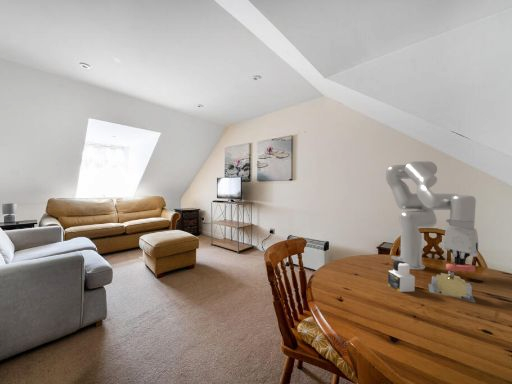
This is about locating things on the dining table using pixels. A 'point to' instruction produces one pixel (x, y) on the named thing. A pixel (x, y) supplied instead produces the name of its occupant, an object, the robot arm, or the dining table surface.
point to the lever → (460, 268)
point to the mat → (450, 296)
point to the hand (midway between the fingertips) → (459, 266)
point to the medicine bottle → (401, 277)
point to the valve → (451, 285)
